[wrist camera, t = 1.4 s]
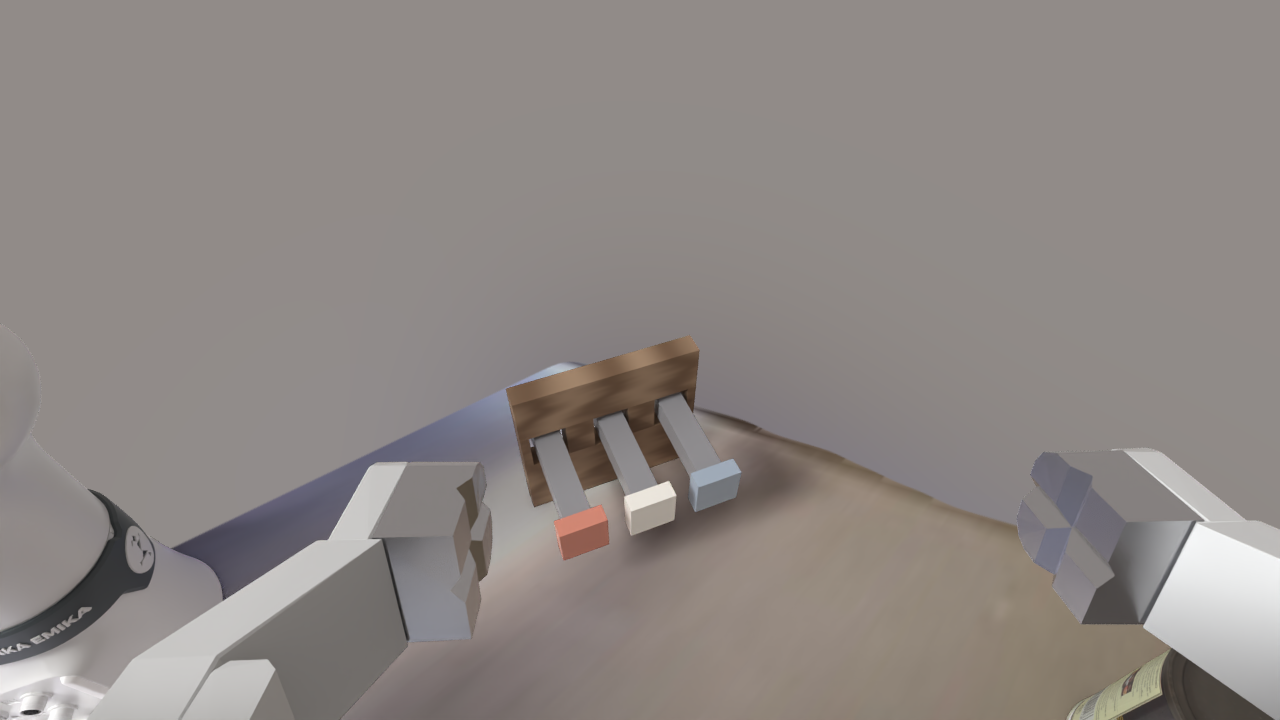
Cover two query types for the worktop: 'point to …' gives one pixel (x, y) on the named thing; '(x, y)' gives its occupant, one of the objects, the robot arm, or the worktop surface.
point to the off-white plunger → (635, 476)
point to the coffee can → (1167, 695)
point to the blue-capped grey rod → (697, 454)
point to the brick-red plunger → (570, 500)
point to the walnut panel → (602, 409)
